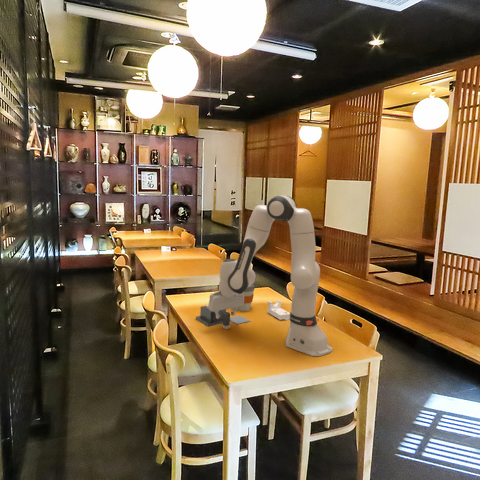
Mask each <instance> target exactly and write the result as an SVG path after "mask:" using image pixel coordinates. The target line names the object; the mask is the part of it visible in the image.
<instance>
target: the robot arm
mask: <svg viewBox="0 0 480 480" xmlns="http://www.w3.org/2000/svg"><path fill="white" fill-rule="evenodd" d="M297 205H298V204H297V203H296V200H295V199H293V197H291V196H288V195H277V196H273V197H271V198H270V200H269V201H268V203H267V205H265V204H258V205H256V206H255V207H253V208H254V209H252V212H251V215H250V217H249V220H248V223H247V226H246V231H245V233H244V234H245V235H244V238H243V239H244V240H243V243H242V246H241V249H240V252H239V255H238V257H237V259H236V258H229V259H225V260H223V261H222V262H221V264H220V268H219V282H218V283H219V284H218V291H216V292H215V291H214V292H212V293H211V294H210V295H209V300H208V304H207V305H208V309H209V310H210V311H212V312H215V314H216V318H217V319H219V318H220V315H219V314H218V312H219V310H224V309H226V310H229V309H232V311H230V316H232V317H234V316H236V312H237V311H238V310H237V308H238V307H240V306H243V304H244V294H243V293H244V291H245V290H246V289H247V288H248V287H250V286H251V285H252V284H254V283H255V282H256V279H257V275H256V272H255V271H254V269H253V268H251V263H252V261H253V258H254V256H255V255H256V253H257V252H258V251H259V249H261V248H262V247H263V246H264V245H265V243H266V242H267V240H268V238H269V236H270V233H271V229H272V226H273V223H274V221H276V220H277V221H282V222H287V224H288V225H289V226H288V227H289V237H290V245H291V247H290V248H291V260H290V261H291V262H290V281H291V284H292V286H293V287H294V288H293V293H292V297H291V307H290V308H291V309H290V312H289V313H290V320H289V321H290V322H289V327H288V332H287V335H286V338H285V347H286V348H290V349H292V350H295V351H297V352H300V353H303V354H305V355H307V356H311V357H320V356H321V357H322V356H325V355H328V354H329V353H331V352H332V351H333V347H332V346H330V344H328V337H327V335H326V333H325V332H324V331H323V330H322V329H321V327H320V326H319V325H318V321H320V320H319V319H320V318H317V316H316V306H317V305H316V303H317V302H316V301H317V295H318V290H319V283H320V276H321V268H320V267H321V266H320V265H319V263H318V262H317V261H316V250H317V247H316V246H317V245H316V235H315V227H314V220H313V217H312V213H311V211H310V210H308V209H306V208H303V207H301V208H299V207H298V208H297Z"/></svg>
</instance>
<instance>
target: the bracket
mask: <svg viewBox="0 0 480 480" xmlns="http://www.w3.org/2000/svg"><path fill="white" fill-rule="evenodd" d="M281 306H282V301H281V300H280V299H277V300H276V303H274V304H273V302H272V301H271V300H268V301H267V313H268V314H269V315H271V316H273V317H275V318H277V319H278V320H280V321H281V320H284V321H288V320H289V321H290V312H288V311H287V310H285V309H284V308H281Z"/></svg>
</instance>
